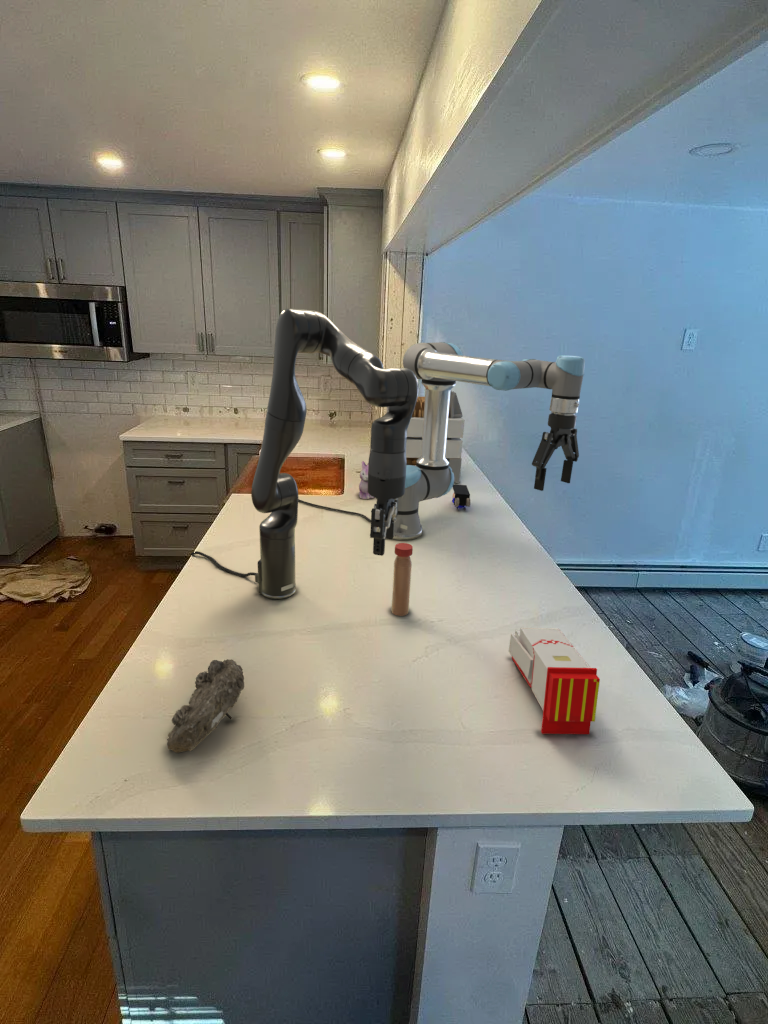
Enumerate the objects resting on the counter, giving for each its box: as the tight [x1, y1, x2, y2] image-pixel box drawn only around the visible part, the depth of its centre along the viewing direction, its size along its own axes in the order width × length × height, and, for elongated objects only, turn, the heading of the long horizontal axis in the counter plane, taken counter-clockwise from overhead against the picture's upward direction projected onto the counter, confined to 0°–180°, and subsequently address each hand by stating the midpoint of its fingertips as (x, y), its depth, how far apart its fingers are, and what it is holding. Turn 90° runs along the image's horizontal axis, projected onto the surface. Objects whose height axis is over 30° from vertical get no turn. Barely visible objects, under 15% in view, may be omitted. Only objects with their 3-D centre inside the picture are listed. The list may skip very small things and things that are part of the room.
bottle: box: [390, 555, 413, 617], centre depth 146 cm, size 4×4×18 cm
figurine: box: [358, 460, 375, 500], centre depth 236 cm, size 9×10×15 cm
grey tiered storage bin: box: [385, 390, 465, 484], centre depth 268 cm, size 34×33×41 cm
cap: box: [394, 542, 414, 557], centre depth 143 cm, size 4×4×2 cm
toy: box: [508, 627, 601, 735], centre depth 119 cm, size 12×13×30 cm
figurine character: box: [451, 483, 471, 512], centre depth 229 cm, size 7×8×15 cm
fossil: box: [166, 658, 245, 754], centre depth 106 cm, size 22×10×15 cm
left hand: (383, 546), depth 118 cm, fingers open, 8 cm apart
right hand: (552, 485), depth 166 cm, fingers open, 13 cm apart
